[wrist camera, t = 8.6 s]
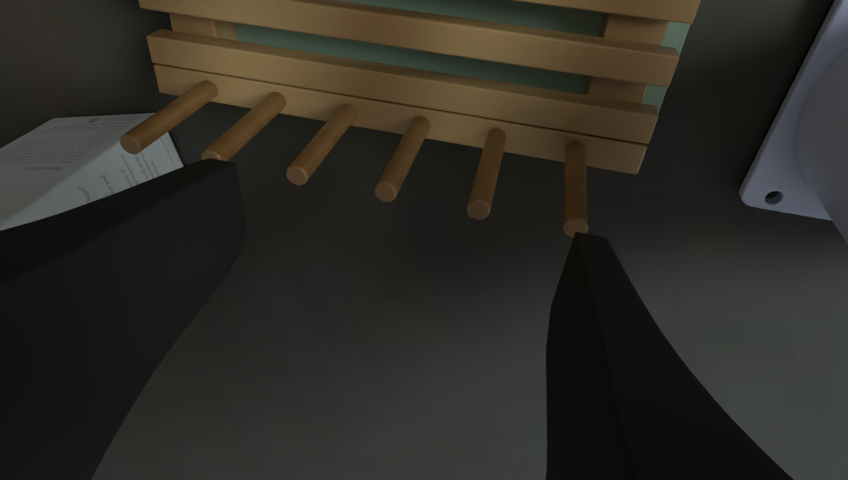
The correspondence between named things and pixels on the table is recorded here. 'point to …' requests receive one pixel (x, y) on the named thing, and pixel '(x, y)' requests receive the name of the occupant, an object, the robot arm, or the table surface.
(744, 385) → the table surface
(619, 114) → the dish rack
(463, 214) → the table surface
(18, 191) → the small box
